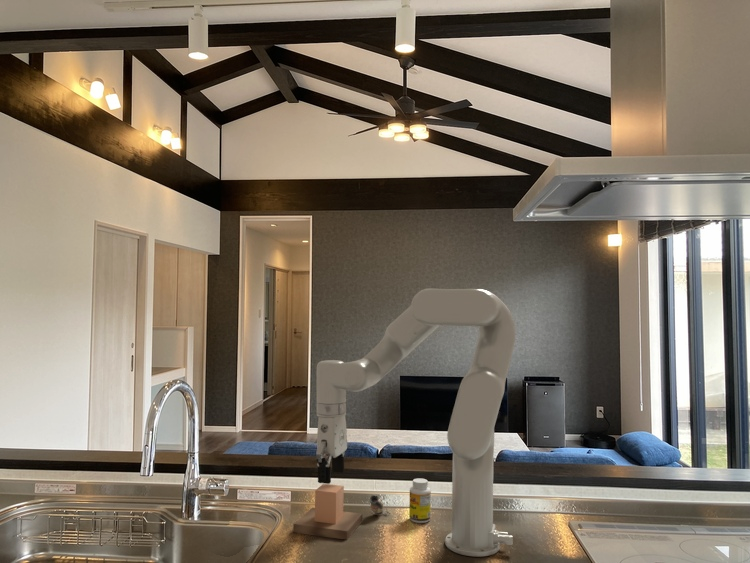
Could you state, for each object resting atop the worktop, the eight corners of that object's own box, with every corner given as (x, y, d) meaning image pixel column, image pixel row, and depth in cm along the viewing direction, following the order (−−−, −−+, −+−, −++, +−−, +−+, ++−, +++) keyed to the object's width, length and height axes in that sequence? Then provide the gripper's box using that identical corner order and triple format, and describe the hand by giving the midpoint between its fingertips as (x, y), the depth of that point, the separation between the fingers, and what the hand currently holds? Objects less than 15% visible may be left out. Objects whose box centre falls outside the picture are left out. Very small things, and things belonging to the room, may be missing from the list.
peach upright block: (343, 516, 142) (343, 485, 142) (335, 524, 136) (336, 492, 137) (322, 513, 143) (323, 483, 144) (314, 521, 138) (315, 490, 138)
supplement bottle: (406, 517, 147) (406, 478, 148) (425, 515, 149) (425, 476, 149) (413, 525, 142) (414, 484, 142) (433, 522, 143) (434, 482, 144)
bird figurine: (381, 522, 143) (379, 498, 144) (363, 519, 146) (362, 496, 147) (391, 515, 148) (389, 492, 149) (373, 513, 151) (372, 490, 151)
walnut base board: (362, 521, 143) (362, 513, 144) (347, 539, 132) (347, 531, 132) (312, 515, 147) (312, 507, 147) (293, 532, 136) (293, 523, 136)
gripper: (333, 415, 132) (333, 488, 131) (355, 404, 148) (356, 469, 147) (304, 414, 134) (304, 486, 133) (329, 403, 151) (329, 467, 150)
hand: (331, 477), depth 140 cm, fingers open, 9 cm apart
